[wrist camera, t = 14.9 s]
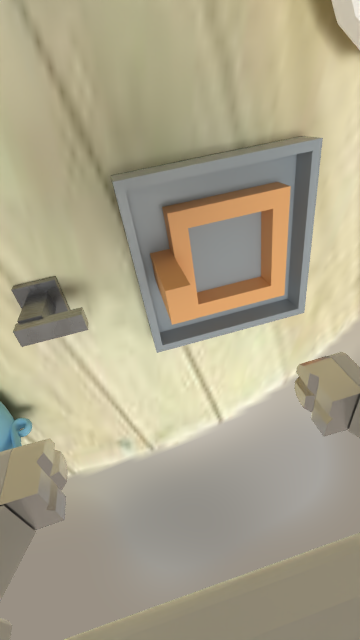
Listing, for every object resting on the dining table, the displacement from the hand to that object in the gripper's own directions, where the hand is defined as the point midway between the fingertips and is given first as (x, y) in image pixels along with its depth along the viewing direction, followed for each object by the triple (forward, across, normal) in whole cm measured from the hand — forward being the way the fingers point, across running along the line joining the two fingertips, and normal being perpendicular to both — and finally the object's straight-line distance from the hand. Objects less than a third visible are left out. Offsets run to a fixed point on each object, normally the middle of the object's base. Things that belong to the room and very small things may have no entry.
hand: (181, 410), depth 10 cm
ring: (+28, -10, +9) cm, 31 cm away
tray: (+29, -11, +9) cm, 33 cm away
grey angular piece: (+29, +11, +10) cm, 33 cm away
